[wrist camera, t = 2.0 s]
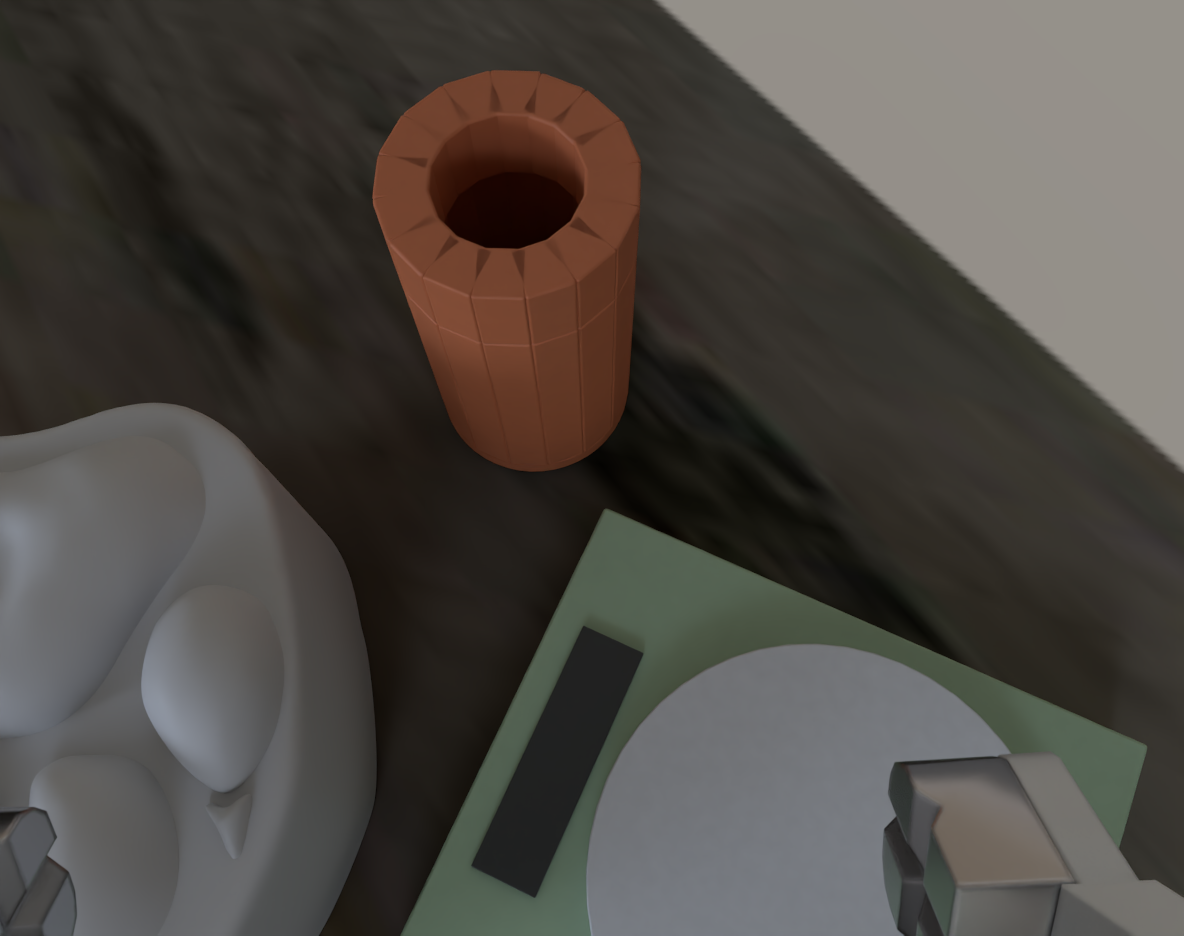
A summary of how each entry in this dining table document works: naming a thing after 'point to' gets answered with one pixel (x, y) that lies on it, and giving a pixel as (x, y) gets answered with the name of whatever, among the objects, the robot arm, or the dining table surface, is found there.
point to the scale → (719, 759)
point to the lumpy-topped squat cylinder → (180, 678)
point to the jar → (517, 259)
